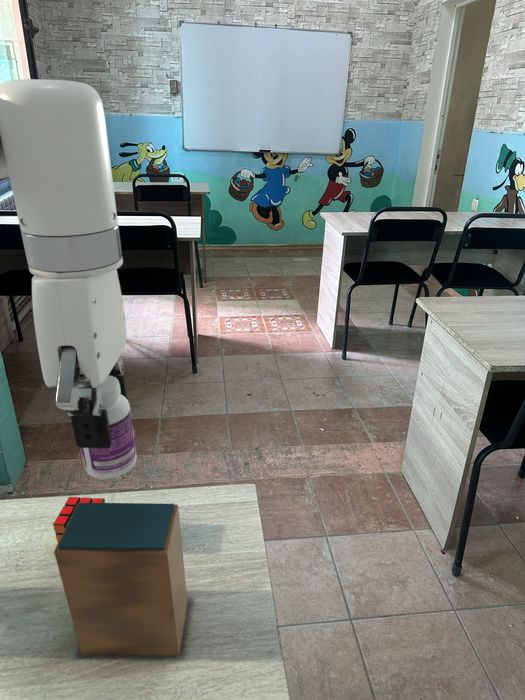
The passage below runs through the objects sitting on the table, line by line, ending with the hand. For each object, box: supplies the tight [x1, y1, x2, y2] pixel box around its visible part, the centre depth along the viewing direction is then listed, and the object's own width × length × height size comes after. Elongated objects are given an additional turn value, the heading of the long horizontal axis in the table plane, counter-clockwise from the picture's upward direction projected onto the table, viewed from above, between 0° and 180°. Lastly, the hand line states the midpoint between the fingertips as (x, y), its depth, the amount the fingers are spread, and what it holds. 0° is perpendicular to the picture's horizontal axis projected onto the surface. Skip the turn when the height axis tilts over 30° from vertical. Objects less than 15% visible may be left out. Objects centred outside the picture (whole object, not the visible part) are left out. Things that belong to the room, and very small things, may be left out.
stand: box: [53, 503, 188, 656], centre depth 58 cm, size 12×7×18 cm, turn 89°
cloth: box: [58, 502, 175, 550], centre depth 54 cm, size 11×6×1 cm, turn 89°
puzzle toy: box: [52, 496, 106, 543], centre depth 73 cm, size 6×6×6 cm
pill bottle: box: [78, 375, 138, 480], centre depth 48 cm, size 5×5×10 cm
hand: (104, 425), depth 48 cm, fingers closed on pill bottle, 5 cm apart
